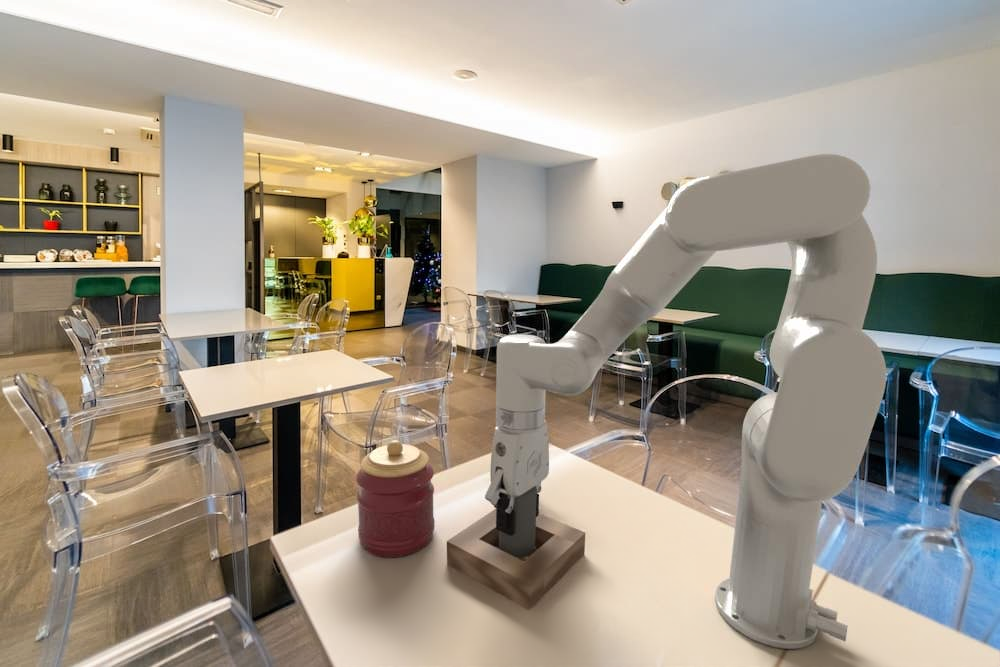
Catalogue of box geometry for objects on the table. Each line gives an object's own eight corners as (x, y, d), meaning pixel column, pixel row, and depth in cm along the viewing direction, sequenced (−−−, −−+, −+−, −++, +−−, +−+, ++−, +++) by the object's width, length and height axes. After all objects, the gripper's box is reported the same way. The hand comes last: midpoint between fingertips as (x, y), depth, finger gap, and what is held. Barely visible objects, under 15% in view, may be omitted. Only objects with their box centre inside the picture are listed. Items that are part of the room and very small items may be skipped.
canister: (352, 526, 88) (347, 433, 85) (421, 509, 94) (419, 422, 91) (367, 568, 77) (363, 463, 74) (445, 546, 83) (444, 448, 80)
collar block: (584, 554, 81) (585, 532, 80) (529, 610, 69) (530, 584, 68) (507, 520, 91) (507, 500, 90) (446, 563, 78) (446, 541, 78)
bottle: (535, 537, 82) (538, 453, 79) (534, 560, 76) (537, 470, 73) (500, 535, 82) (502, 451, 80) (497, 557, 77) (498, 467, 74)
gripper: (505, 438, 66) (503, 558, 70) (569, 406, 80) (565, 508, 83) (464, 425, 71) (464, 538, 74) (531, 397, 84) (529, 494, 87)
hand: (517, 521), depth 78 cm, fingers closed on bottle, 5 cm apart
